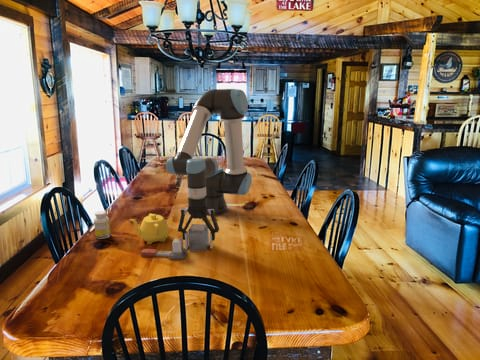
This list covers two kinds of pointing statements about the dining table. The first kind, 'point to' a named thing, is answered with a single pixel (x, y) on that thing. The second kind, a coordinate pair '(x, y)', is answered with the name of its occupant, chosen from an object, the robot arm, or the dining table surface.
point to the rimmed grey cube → (198, 237)
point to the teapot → (152, 228)
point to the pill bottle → (102, 225)
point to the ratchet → (176, 252)
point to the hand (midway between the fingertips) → (199, 246)
